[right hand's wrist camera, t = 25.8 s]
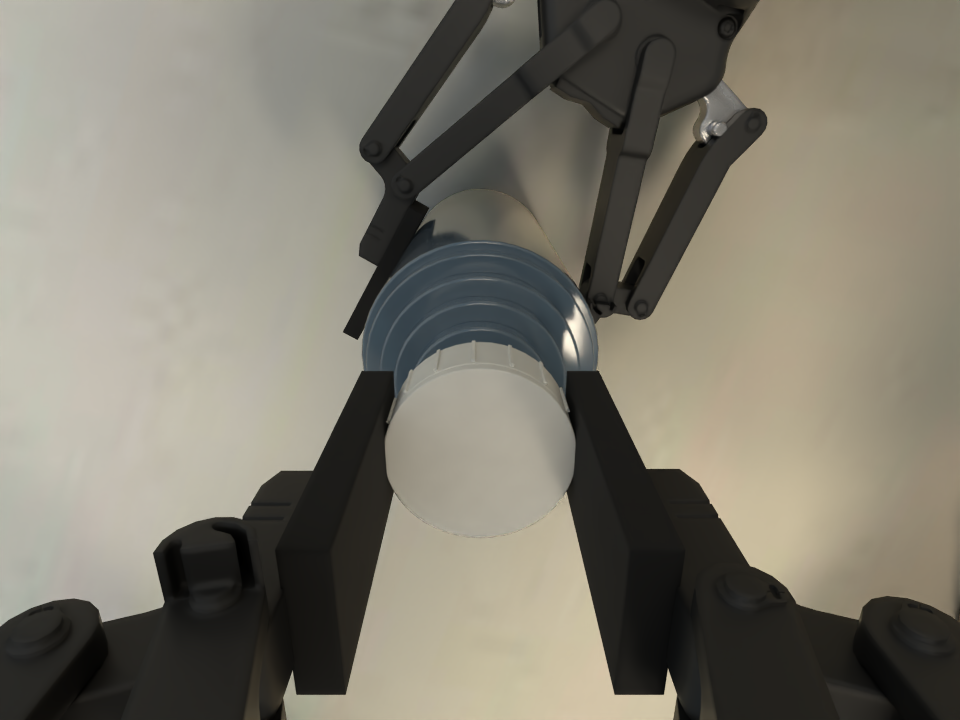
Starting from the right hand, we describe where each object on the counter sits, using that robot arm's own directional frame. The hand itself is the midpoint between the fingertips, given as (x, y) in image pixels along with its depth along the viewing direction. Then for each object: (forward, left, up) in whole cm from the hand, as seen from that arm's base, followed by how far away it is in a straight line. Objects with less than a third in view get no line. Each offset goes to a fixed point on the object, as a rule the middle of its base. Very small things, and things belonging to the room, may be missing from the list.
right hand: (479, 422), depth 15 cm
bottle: (0, 0, -20) cm, 20 cm away
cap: (0, 0, +1) cm, 1 cm away
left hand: (-3, +4, -14) cm, 15 cm away
